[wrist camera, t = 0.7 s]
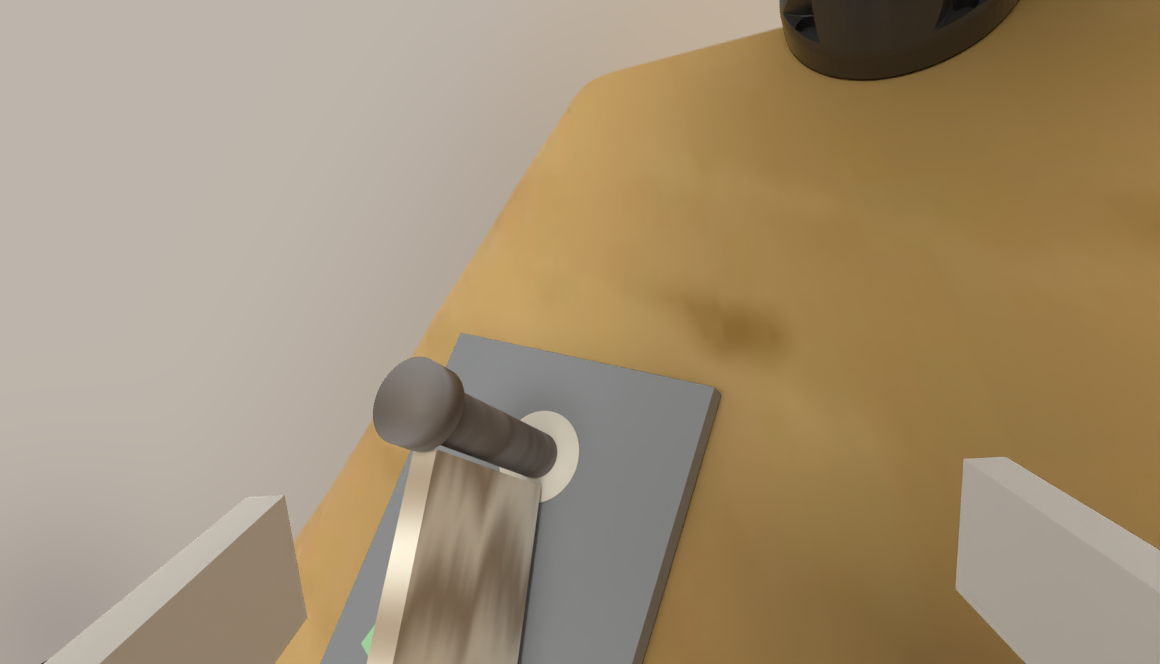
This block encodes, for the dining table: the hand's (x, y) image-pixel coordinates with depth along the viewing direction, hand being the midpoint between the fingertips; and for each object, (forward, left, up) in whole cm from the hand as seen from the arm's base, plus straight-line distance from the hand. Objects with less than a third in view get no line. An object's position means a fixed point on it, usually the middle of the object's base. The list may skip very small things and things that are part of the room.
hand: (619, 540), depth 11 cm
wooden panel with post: (+4, -15, -21) cm, 27 cm away
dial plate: (+4, -18, -23) cm, 29 cm away
